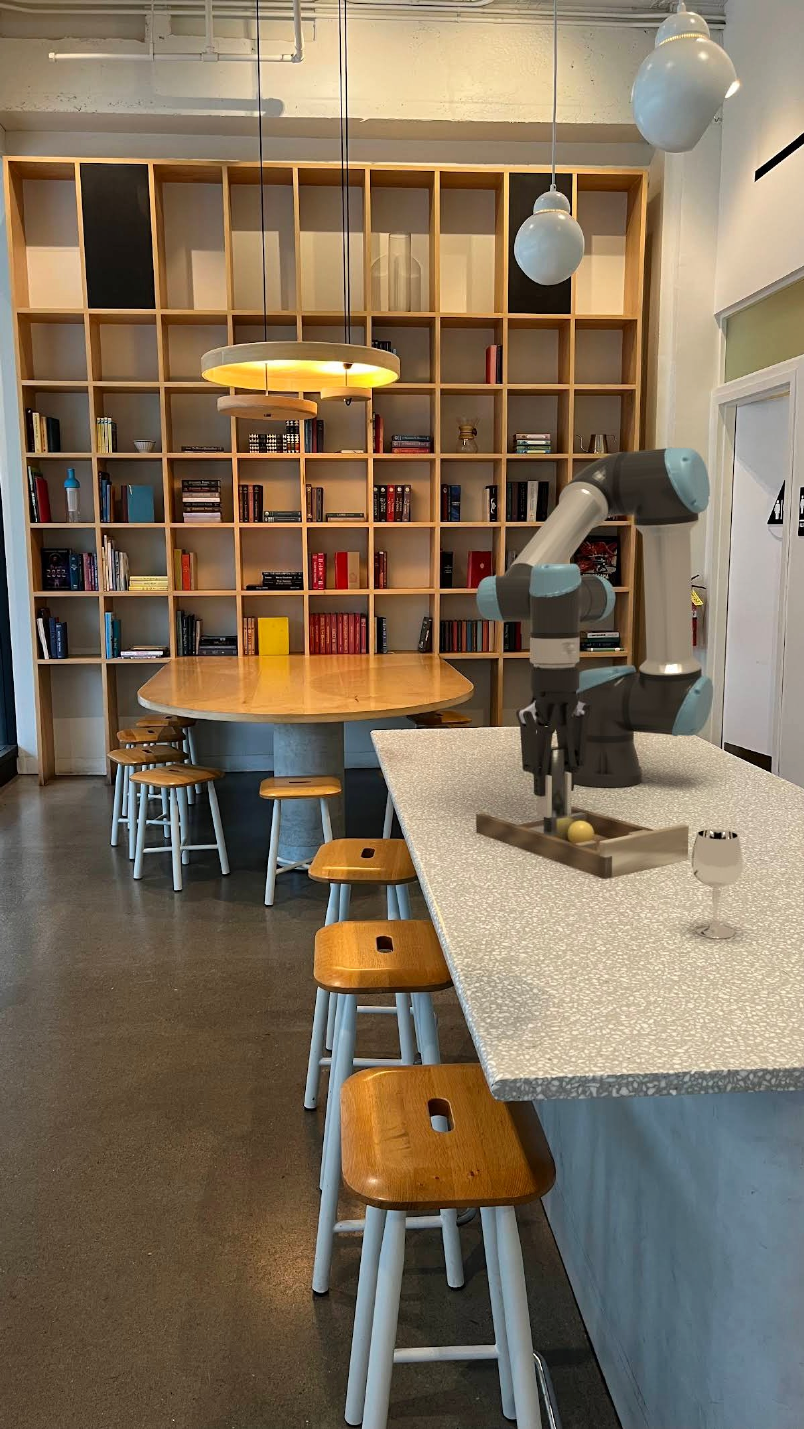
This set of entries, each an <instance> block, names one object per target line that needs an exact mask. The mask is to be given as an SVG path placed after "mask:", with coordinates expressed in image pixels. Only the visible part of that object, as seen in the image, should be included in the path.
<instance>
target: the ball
mask: <svg viewBox="0 0 804 1429" xmlns="http://www.w3.org/2000/svg"><path fill="white" fill-rule="evenodd" d="M593 838H594V830H593V828H592V826H591V825H590V824H589V823H587V822H585V821H576V822H574V823H573V824H571V825H570V827H569V829H568V839H569V841H570V842H571V843H574V844H577V843H582V842H587V841H591V840H592V841H593Z"/></svg>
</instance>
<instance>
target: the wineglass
mask: <svg viewBox="0 0 804 1429" xmlns="http://www.w3.org/2000/svg"><path fill="white" fill-rule="evenodd" d="M743 861H744V860H743V851H742V846H741V841H740V837H739V834H738V833H737V832H734V831H730V830H724V829H703V830H699V831H697V833H696V837H695V840H694V843H693V848H692V853H691V867H692V868H691V869H692V873H693V875H694V876H695V878H696V879H697V880H698V881H699V882H700V883H702V884H703V885H706V886H709V887H712V888H713V889H712V891H711V899H712V904H713V905H712V906H713V915H712V916H713V917H712V921H711V923H710V924H702V925H699V926H697V927H696V928H695V933H696V934H698V935H699V936H701V937H702V936H703V937H706V938H711V939H728V938H731V937H734V935H735V931H734V930H733V929H732V928H730V927H727V926H724V925H722V924H721V925H720V924H719V923H720V922H719V920H718V909H719V908H718V907H719V901H720V899H721V891H720V890H719V889H720V888H725V887H728V886H731V885H733V884H735V883H736V882H737V881H738V879H740V877H741V875H742V871H743Z"/></svg>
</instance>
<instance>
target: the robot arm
mask: <svg viewBox="0 0 804 1429" xmlns="http://www.w3.org/2000/svg"><path fill="white" fill-rule="evenodd" d="M710 488H711V487H710V478H709V474H708V469H707V466H706V464H705V461H704V460H703V457H702V456H701V454H700V453H699V452H698V451H697V450H696V449H693V448H691V447H666V448H655V449H646V450H635V451H619V452H614V453H611V454H607V455H605V456H603V457H601V458H599V459H597V460H595V461H593V462H592V463H591V464H589V465H587V466H586V467H585V468H583V469H582V470H581V471H580V472H578V473H577V474H576V475H575V476H574V477H573V478H571V480H570V481H569V482H568V483H567V484H566V485H565V487H564V488H563V489H562V490H561V492H560V494H559V498H558V504H557V505H556V507H555V509H553V511H552V512H551V514H550V515H549V516H548V517H547V519H546V520H545V521H544V522H543V524H542V525H541V527H540V528H539V529H538V530H537V531H536V533H535V534H534V536H532V538H531V539H530V541H529V542H528V543H527V544H526V545H525V546H524V548H523V549H522V551H521V552H520V553H519V554H518V556H517V557H516V558H515V560H514V561H513V562H512V563H511V565H510V566H509V567H508V569H507V570H506V571H505V572H504V573H503V575H498V574H495V575H494V576H492V575H491V576H487V577H484V578H483V579H482V580H481V581H480V582H479V585H478V587H477V591H476V605H477V607H478V612H479V613H480V616H482V617H483V618H484V619H485V620H489V621H499V622H503V623H507V622H530V632H529V633H530V638H529V663H530V664H533V666H531V668H529V688H530V690H531V693H532V697H531V699H530V702H529V706H527V707H526V708H524V709H517V710H516V713H515V715H516V719H517V721H518V723H519V732H520V733H519V734H520V747H521V749H520V750H521V764H522V770H523V771H524V772H527V773H530V774H532V775H533V795H534V796H536V815H537V816H541V817H543V818H544V817H546V818H550V817H552V776H549V775H547V773H548V766H549V759H550V751H551V747H552V743H553V736H554V735H553V734H554V733H556V741H557V747H563V748H565V774H564V814H571V806H572V792H574V789H575V785H580V786H587V787H594V788H595V787H597V788H622V787H628V786H634V785H638V784H640V783H642V782H643V769H642V766H640V763H639V762H640V761H639V757H638V754H637V753H638V752H637V750H636V747H635V740H634V739H635V736H634V734H635V733H644V734H645V733H646V734H658V735H669V736H673V737H678V736H681V737H682V736H683V737H685V736H686V737H687V736H688V737H689V736H690V737H693V736H695V735H698V734H699V733H700V732H701V731H702V730H703V729H704V727H705V726H706V724H707V721H708V719H709V717H710V716H709V715H710V713H711V709H712V704H713V699H714V685H713V680H712V678H711V677H709V676H707V675H703V673H702V672H703V670H702V669H703V668H702V664H701V663H700V662H699V661H698V660H697V659H696V658H695V657H694V646H693V645H694V642H693V641H694V639H693V599H692V598H693V594H692V593H693V592H692V590H693V589H692V555H691V554H692V552H691V551H692V549H691V548H692V547H691V544H692V543H691V531H692V530H693V528H694V527H695V526H696V525H698V523H699V514H700V513H702V512H704V511H706V510H707V508H708V506H709V503H710V496H711V495H710V494H711V492H710V490H711V489H710ZM617 516H633V526H634V528H636V529H637V531H639V532H640V533H641V535H642V550H643V551H642V552H643V556H642V557H643V581H644V582H643V583H644V586H643V587H644V611H645V612H644V613H645V635H646V636H645V638H646V640H645V642H646V659H645V660H644V661H643V662H642V663H641V665H640V666H639V668H638V670H639V673H638V672H637V670H636V668H635V665H631V664H630V665H629V664H628V665H615V666H605V667H599V668H598V667H597V668H591V669H586V670H582V671H581V672H580V667H579V666H578V665H576V664H578V663H579V662H580V649H581V648H580V641H581V640H580V631H581V629H580V627H581V625H580V624H582V623H591V624H592V623H595V622H599V621H600V620H604V619H605V618H606V617H608V616H609V615H610V614H611V612H612V611H613V609H614V607H615V603H616V592H615V589H614V586H613V585H612V584H611V583H610V581H609V580H607V579H606V578H605V577H603V576H601V575H595V574H583V575H581V569H580V567H579V565H578V564H577V563H568V561H570V559H571V558H572V556H573V555H574V554H575V552H576V551H577V549H578V548H579V547H580V545H581V544H582V542H583V541H584V540H585V539H586V537H587V536H588V534H589V533H590V532H591V530H592V529H594V528H597V527H599V526H600V525H601V524H603V523H604V522H605V520H606V519H607V518H610V517H611V518H612V517H617Z"/></svg>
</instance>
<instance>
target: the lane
mask: <svg viewBox="0 0 804 1429" xmlns="http://www.w3.org/2000/svg"><path fill="white" fill-rule="evenodd" d="M580 812H582V813H586V814H587V818H586V822H587V823H589V824H590V825H591V826H592V828H593V830H594V838H593V841H592V840H591V841H587V842H582V843H577V844H574V843H571V842H568V841H565V840H562V839H559V838H556V837H553V836H550V835H547V834H544V833H541V832H538V831H535V830H532V829H529V828H533V827H538V826H543V825H544V819H542V820H537V821H530V822H526V823H519V824H516V823H513V822H510V821H507V820H504V819H500V818H498V817H495V816H492V815H489V814H485V813H482V812H481V813H480V812H479V813H476V814H475V831H476V832H475V833H476V834H478V835H482V836H484V837H487V838H491V839H492V840H496V841H497V842H502V843H504V844H507V845H510V846H512V847H514V848H518V849H521V850H523V851H526V852H529V853H531V854H533V855H538V856H540V857H543V858H545V859H548V860H550V861H554V862H557V863H559V864H562V865H564V866H568V867H570V868H572V869H576V870H577V871H581V872H584V873H587V874H589V875H593V876H595V877H597V878H598V877H599V878H601V879H604V880H608V879H612V878H616V877H620V876H625V875H629V874H634V873H637V872H643V871H646V870H651V869H655V868H659V867H663V866H668V865H673V864H676V863H677V864H678V863H681V862H685V861H688V860H689V829H690V828H689V825H686V824H678V825H673V826H669V827H664V828H657V829H652V828H649V827H645V826H642V825H638V824H635V823H632V822H629V821H625V820H622V819H617V818H614V817H610V816H607V815H603V814H600V813H598V812H593V811H590V810H586V809H582V808H578V807H575V806H572V805H571V814H574V813H580ZM564 815H569V814H564Z"/></svg>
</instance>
